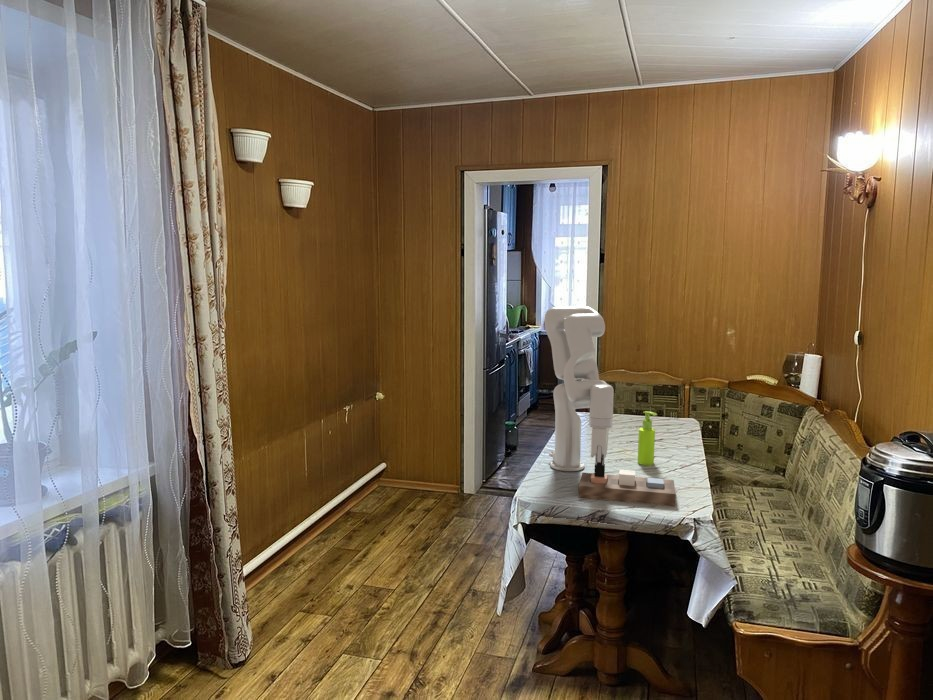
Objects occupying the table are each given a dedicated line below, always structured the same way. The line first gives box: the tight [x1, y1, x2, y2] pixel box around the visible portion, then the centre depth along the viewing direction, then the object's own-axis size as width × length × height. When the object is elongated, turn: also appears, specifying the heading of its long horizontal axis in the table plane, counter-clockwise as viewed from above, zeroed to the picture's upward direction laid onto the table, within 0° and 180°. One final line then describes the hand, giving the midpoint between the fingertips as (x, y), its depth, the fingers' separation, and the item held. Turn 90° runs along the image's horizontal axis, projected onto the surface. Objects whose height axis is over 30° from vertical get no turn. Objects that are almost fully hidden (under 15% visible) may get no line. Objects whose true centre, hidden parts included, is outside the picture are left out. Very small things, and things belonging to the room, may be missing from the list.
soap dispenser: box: [637, 410, 658, 466], centre depth 252 cm, size 6×7×20 cm
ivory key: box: [618, 469, 636, 486], centre depth 218 cm, size 5×5×4 cm
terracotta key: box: [591, 472, 608, 484], centre depth 221 cm, size 5×5×4 cm
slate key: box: [646, 477, 664, 489], centre depth 216 cm, size 5×5×4 cm
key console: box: [577, 472, 677, 507], centre depth 219 cm, size 30×14×4 cm, turn 75°
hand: (599, 476), depth 220 cm, fingers closed
